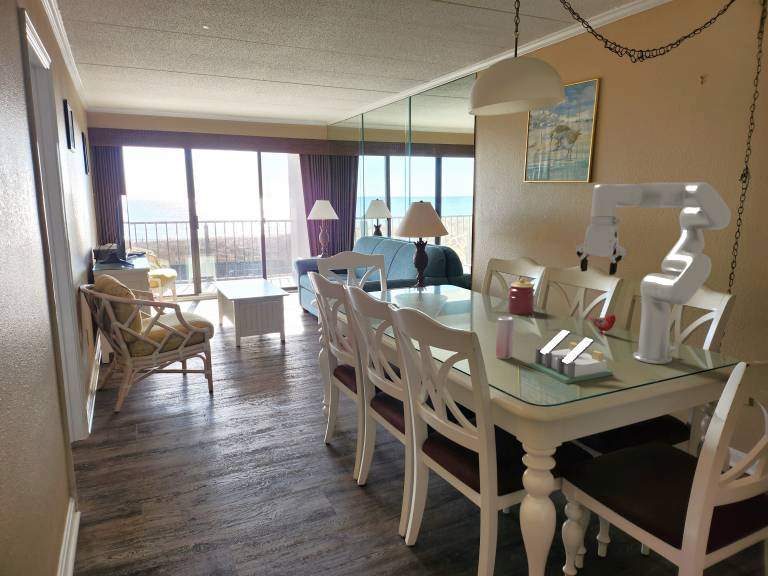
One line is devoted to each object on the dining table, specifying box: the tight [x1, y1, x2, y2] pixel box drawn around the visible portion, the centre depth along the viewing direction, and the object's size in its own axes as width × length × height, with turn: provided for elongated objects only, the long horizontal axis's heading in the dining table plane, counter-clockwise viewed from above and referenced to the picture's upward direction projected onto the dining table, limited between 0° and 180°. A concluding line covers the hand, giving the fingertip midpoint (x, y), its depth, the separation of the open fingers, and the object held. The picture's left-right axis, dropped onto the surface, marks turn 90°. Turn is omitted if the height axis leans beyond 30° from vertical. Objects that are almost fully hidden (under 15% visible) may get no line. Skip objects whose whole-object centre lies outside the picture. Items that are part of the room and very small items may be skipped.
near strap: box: [562, 337, 595, 365], centre depth 170 cm, size 12×3×1 cm
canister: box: [507, 277, 536, 316], centre depth 262 cm, size 13×13×18 cm
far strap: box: [540, 329, 571, 355], centre depth 180 cm, size 12×3×1 cm
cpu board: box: [529, 341, 614, 384], centre depth 177 cm, size 20×18×7 cm
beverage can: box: [495, 316, 514, 360], centre depth 191 cm, size 6×6×15 cm
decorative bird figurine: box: [586, 313, 617, 336], centre depth 222 cm, size 3×18×10 cm, turn 19°
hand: (597, 272), depth 174 cm, fingers open, 9 cm apart
